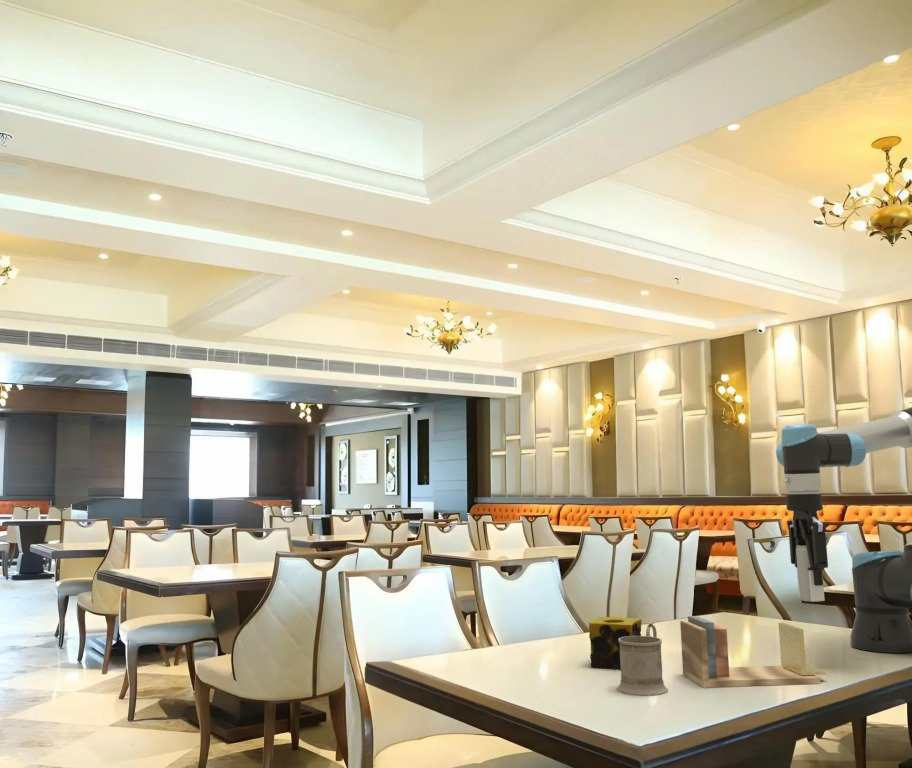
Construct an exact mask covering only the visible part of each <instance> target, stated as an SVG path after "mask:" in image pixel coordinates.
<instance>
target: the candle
mask: <svg viewBox="0 0 912 768" xmlns="http://www.w3.org/2000/svg"><path fill="white" fill-rule="evenodd" d="M588 631H589V632H588V633H589V637H588V638H589V640H590V657H589V658H590V667H591V668H593V667H594V669H604V668H605V669H606V670H617V671H618V670H620V671H621V664H620V643H619V642H618V639H619V638H621V637H626V636H642V633H641V631H642V618H641V617H637V618H636V617H618V616H617V617H615V616H614V617H613V616H612V617H611V616H599V617H597V618H595V619H593V620H592V621H590V622H588ZM605 669H604V670H605Z"/></svg>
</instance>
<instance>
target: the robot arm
mask: <svg viewBox="0 0 912 768" xmlns="http://www.w3.org/2000/svg"><path fill="white" fill-rule="evenodd" d="M894 447H900V448H903V449H904V448H905V449H909V448H912V406H911V407H908V408H905V409H901V410H897V411H894V412H892V413H891V414H890V415H889V416H888V417H884V418H881V419H876V420H871V421H865V422H861V423H858V424H853V425H848V426H844V427H839V428H836V429H835V428H834V429H832V430H831V429H830V430H826V431H822V432H818V431H817V426H816V425H814V424H810V423H809V424H805V423H803V424H791V425H785V426H783V427H782V430H781V441H780V442H779V443H778V444H777V447H776V450H775V451H776V452H775V455H776V459H777V461H778V463H779V464H780V465H781V466H782V467H783V473H784V479H783V483H784V486H785V492H786V493H788V494H786V496H785V505H786V510H787V511H789V512H793V516H792V520H786V526H787V530H788V543H789V553H790V563H791V565H794V567H795V568H796V575H797V576H796V577H797V588H798V589H797V591H798V598H799V599H801V598H800V591H799V580H798V568H797V555H796V548H797V545H800V546H802V545H806V546H807V551H808V557H809V562H810V568H807V569H808V570H809V582H810V595H811V601H818V602H825V590H824V589H825V588H824V575H823V571H824V570H825V569H828V567H829V563H828V551H827V550H828V548H827V535H826V531H827V523H826V522H825V521H819V516H818V513H817V512H818V511H822V510H823V508H824V507H823V496H822V494H820V492H822V479H821V469H820V468H830V467H831V468H832V467H845V468H847V467H856V466H858V465H861V464H862V463H863V462H864V460H865V458H866V455H867V454H869V453H870V454H871V453H874V452H878V451H882V450H888V449H892V448H894ZM851 563H852V567H851V573H852V574H851V575H852V581H853V582H852V583H853V594H854V604H855V618H854V622H853V624H852V629H851V633H850V646H851V647H853V648H854V649H859V650H863V651H868V652H877V653H889V654H891V653H892V654H895V653H896V654H898V653H899V654H903V653H905V654H906V653H907V654H908V653H912V620H911V618H910V612H909V611H910V609H912V541H911V542H907V543H906V544H905V545H904V548H903V551H902V550H884V551H882V550H881V551H871V552H870V551H868V552H859V553H858V552H857V553H855V554H853V557H852V559H851Z"/></svg>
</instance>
